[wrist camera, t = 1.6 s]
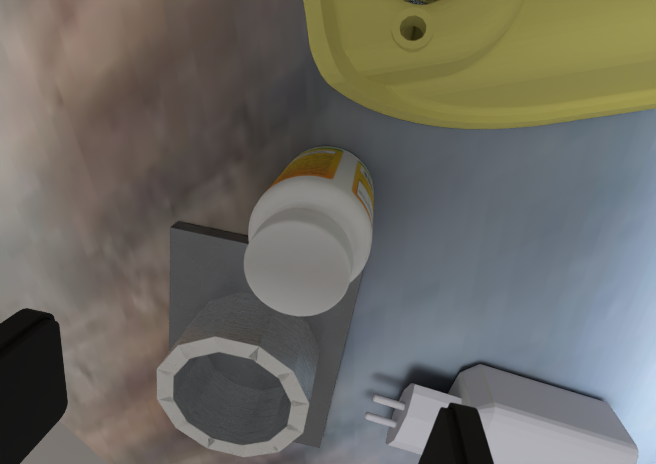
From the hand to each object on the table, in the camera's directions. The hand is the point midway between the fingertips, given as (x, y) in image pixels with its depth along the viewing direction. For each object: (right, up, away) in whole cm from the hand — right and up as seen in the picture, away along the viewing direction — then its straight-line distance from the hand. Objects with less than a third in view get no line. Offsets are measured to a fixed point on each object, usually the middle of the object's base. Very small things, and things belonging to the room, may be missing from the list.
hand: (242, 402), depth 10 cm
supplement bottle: (+2, +7, +14) cm, 15 cm away
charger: (+12, -9, +19) cm, 24 cm away
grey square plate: (-3, -4, +19) cm, 19 cm away
